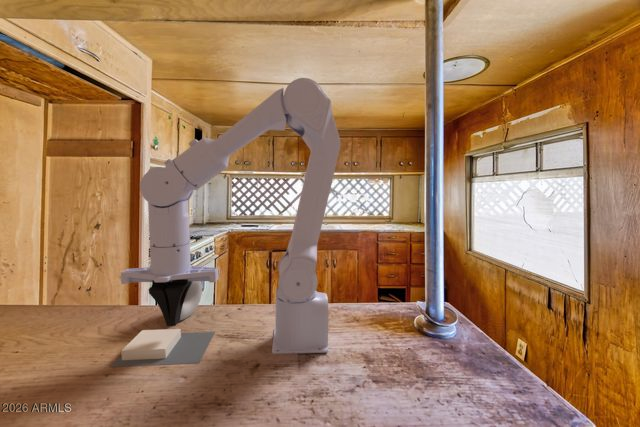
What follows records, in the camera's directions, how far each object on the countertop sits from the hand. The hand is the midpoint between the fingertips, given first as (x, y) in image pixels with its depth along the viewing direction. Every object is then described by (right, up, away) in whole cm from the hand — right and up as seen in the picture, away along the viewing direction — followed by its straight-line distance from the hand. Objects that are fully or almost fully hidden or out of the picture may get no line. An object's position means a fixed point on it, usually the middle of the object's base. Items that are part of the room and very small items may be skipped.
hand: (173, 323), depth 46 cm
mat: (-1, -5, 0) cm, 5 cm away
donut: (-4, -4, +11) cm, 12 cm away
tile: (0, -4, 0) cm, 4 cm away
